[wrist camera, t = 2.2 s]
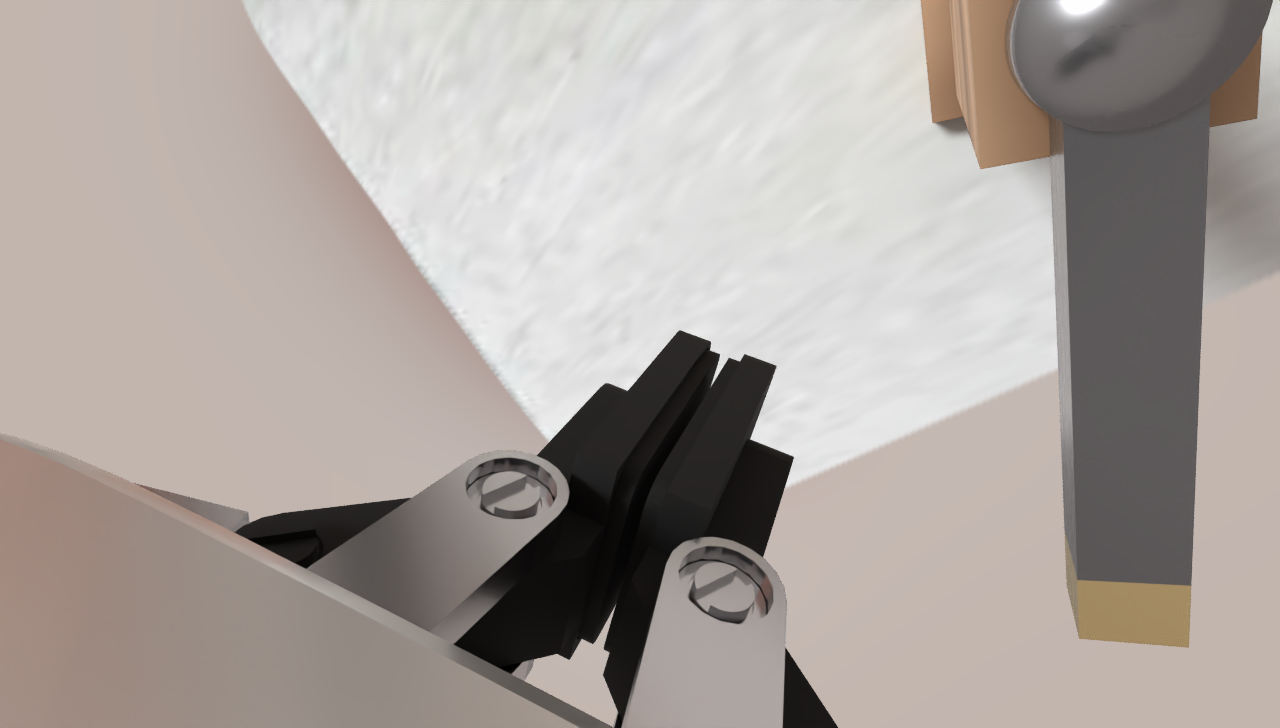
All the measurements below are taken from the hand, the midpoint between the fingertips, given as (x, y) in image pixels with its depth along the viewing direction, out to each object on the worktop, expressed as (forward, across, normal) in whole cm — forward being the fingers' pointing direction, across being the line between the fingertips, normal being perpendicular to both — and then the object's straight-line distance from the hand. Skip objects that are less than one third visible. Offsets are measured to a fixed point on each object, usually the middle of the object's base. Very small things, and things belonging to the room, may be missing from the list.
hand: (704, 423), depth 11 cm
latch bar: (+5, -6, -3) cm, 8 cm away
